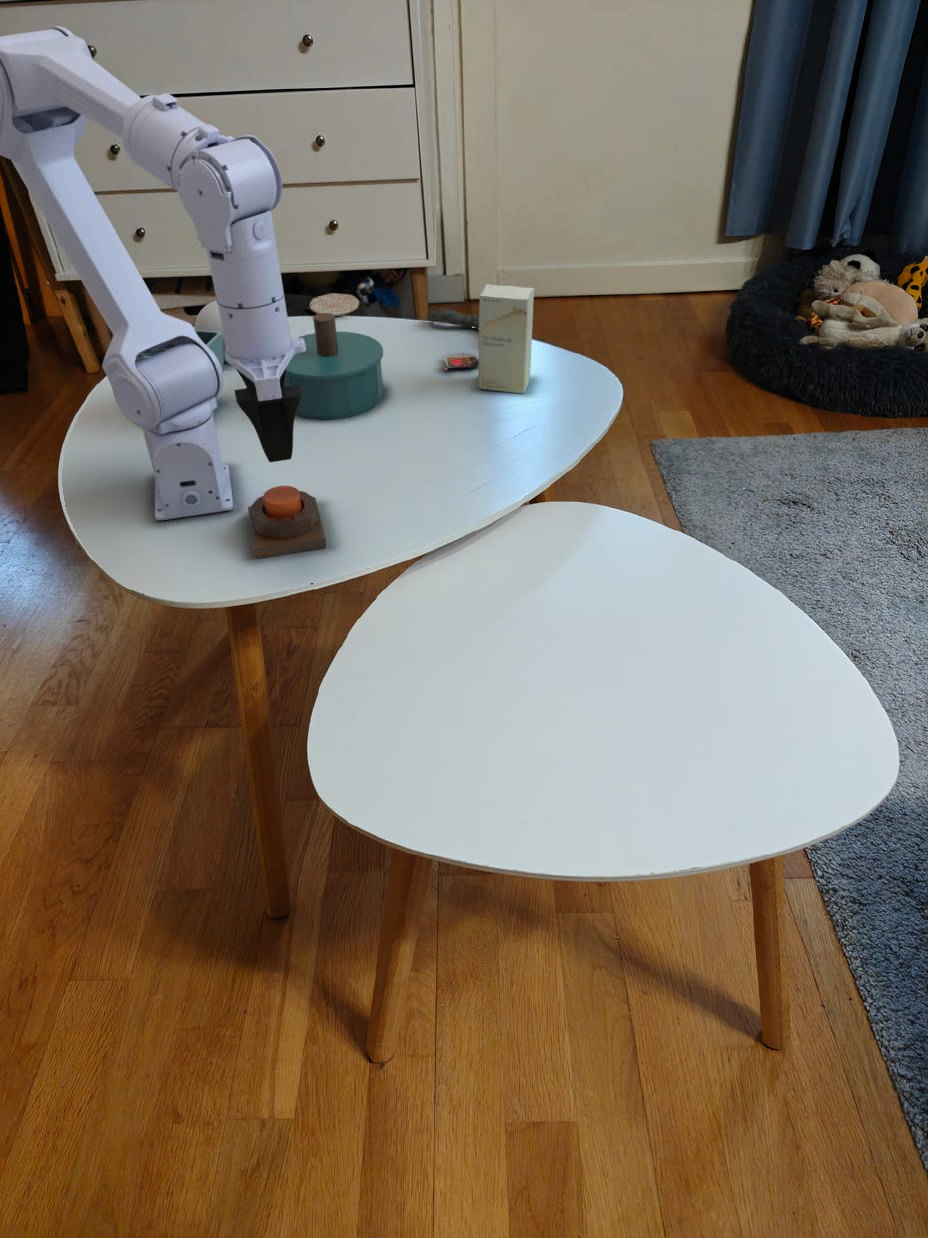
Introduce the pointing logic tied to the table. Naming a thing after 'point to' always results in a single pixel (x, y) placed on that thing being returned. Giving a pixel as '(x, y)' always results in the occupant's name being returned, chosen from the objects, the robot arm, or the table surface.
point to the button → (282, 501)
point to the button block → (286, 529)
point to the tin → (338, 394)
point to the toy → (454, 318)
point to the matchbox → (461, 361)
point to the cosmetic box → (505, 338)
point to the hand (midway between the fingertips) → (276, 440)
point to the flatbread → (334, 304)
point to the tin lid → (334, 352)
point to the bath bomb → (211, 322)
